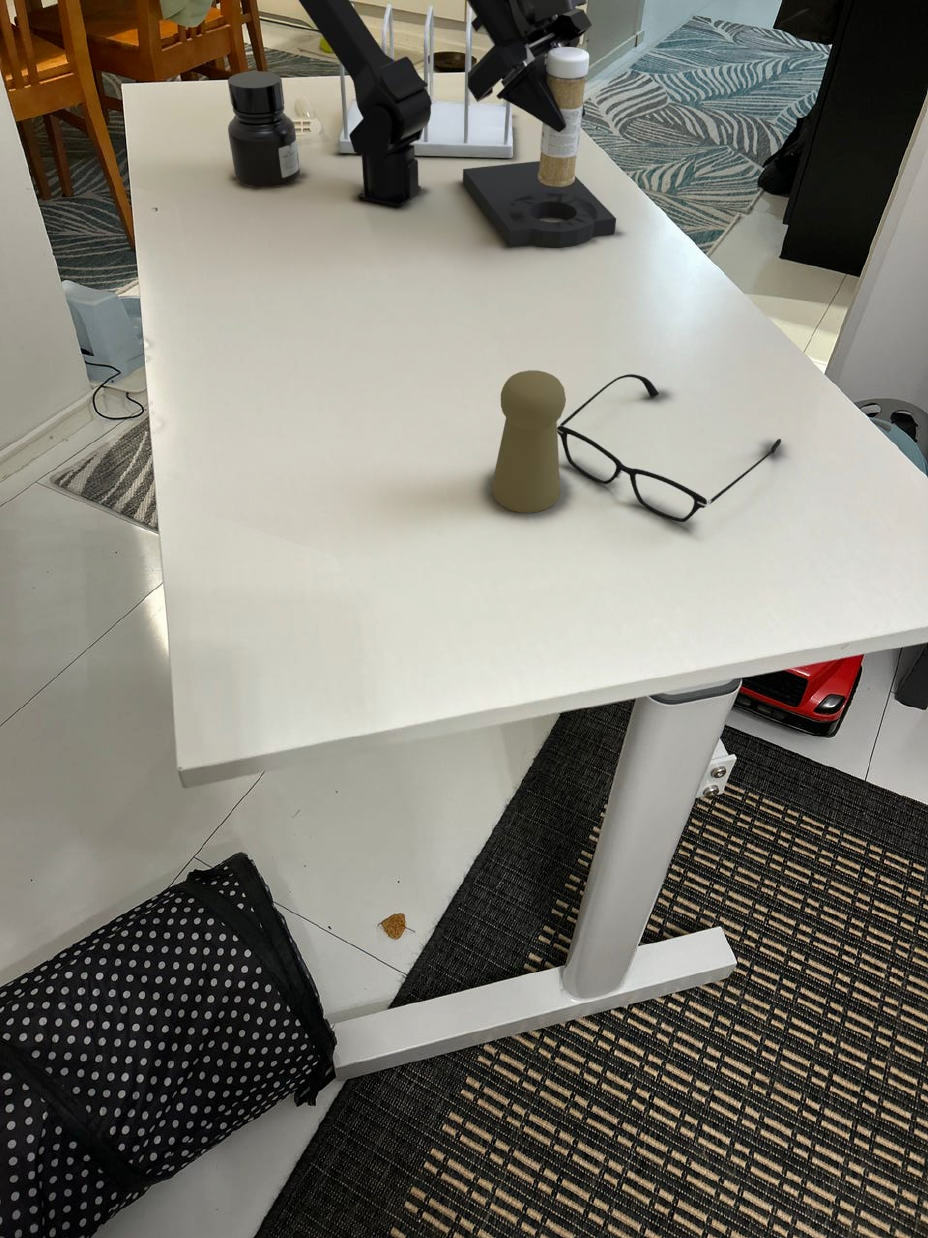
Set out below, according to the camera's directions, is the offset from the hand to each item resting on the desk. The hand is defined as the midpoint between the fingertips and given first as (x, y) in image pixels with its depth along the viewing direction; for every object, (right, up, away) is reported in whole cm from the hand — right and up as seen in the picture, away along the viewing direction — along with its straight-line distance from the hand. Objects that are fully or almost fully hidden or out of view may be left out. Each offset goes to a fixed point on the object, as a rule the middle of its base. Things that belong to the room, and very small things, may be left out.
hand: (572, 123), depth 102 cm
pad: (-3, -2, +17) cm, 17 cm away
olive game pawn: (-7, -45, -23) cm, 51 cm away
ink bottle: (-39, +5, +23) cm, 46 cm away
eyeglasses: (+6, -41, -19) cm, 46 cm away
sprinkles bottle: (-1, -4, +5) cm, 7 cm away
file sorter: (-18, +17, +34) cm, 42 cm away
